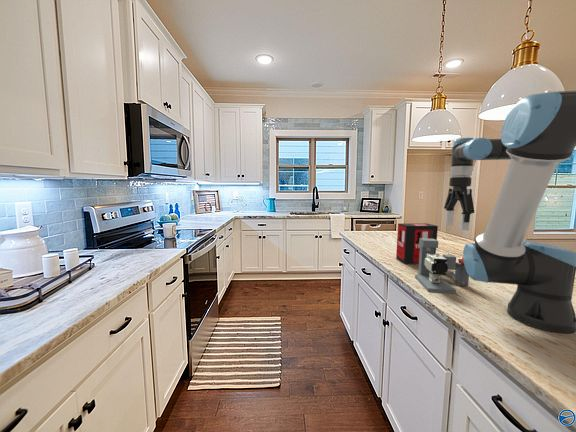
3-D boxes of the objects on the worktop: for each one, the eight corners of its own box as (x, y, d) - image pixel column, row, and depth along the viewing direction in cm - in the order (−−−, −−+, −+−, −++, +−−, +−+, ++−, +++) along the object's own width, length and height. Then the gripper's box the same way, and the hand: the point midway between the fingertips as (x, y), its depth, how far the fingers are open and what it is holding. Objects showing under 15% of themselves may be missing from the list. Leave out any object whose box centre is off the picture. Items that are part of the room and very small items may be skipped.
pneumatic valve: (434, 277, 110) (437, 250, 108) (446, 288, 98) (449, 257, 97) (421, 276, 111) (423, 249, 109) (431, 287, 99) (433, 256, 98)
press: (479, 294, 95) (483, 250, 93) (427, 291, 98) (430, 248, 96) (450, 273, 118) (453, 237, 116) (409, 271, 121) (411, 236, 119)
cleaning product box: (404, 264, 133) (406, 226, 130) (396, 259, 141) (398, 223, 139) (434, 263, 134) (437, 225, 131) (424, 258, 142) (427, 223, 140)
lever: (468, 286, 103) (470, 258, 101) (458, 285, 103) (461, 258, 102) (446, 270, 122) (448, 247, 121) (438, 269, 123) (440, 246, 121)
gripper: (489, 175, 94) (483, 233, 96) (455, 177, 118) (451, 223, 120) (466, 175, 95) (461, 232, 97) (438, 177, 119) (434, 223, 122)
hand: (456, 227), depth 109 cm, fingers open, 12 cm apart
